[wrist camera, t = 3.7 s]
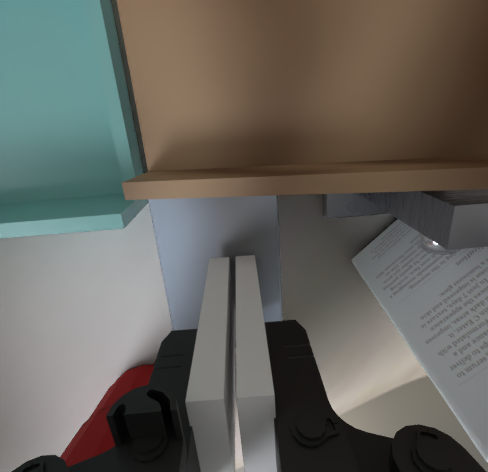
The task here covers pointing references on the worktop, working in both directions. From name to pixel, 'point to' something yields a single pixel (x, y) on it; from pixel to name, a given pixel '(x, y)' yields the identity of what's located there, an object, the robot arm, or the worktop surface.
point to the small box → (437, 316)
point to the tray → (63, 120)
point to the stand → (424, 214)
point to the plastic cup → (103, 418)
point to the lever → (294, 118)
